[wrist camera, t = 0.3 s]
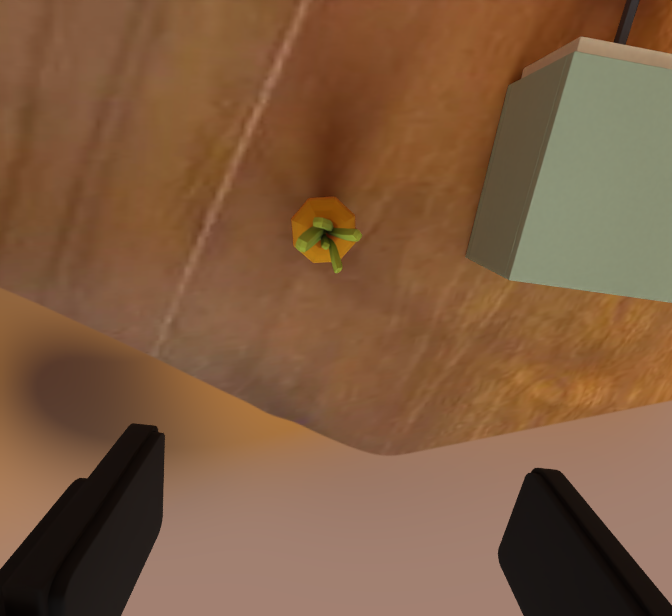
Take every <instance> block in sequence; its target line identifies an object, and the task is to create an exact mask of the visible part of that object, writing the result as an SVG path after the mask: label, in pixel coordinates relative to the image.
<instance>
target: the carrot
mask: <svg viewBox="0 0 672 616" xmlns="http://www.w3.org/2000/svg"><path fill="white" fill-rule="evenodd" d="M291 223H292V235H293V246H294V247H295V248H296V249H297V250H299V251H300V252H301V253H302V254H303V255H305V256H306V257H307V258H308V259H309V260H310V261H311V262H313V263H320V262H332V266H333V269H334V272H335V273H338V272H340V271H341V270H342V262H341V258H342V257H343V256H344V255H345V254H346V253H347V252H348V251H349V249H350V248H351V247H352V246H353V245H354V244H355V243H356V241H359V240H360V239H361V237H362V234H361V232H360V231H359V230H357V229H355V215H354V214H353V213H352V212H351V211H350V210H349V209H348V208H347V207H346V206H345V205H344V204H342V203H341V202H340V201H339V200H338V199H337V198H336V197H316V198H308V199H307V201H306V202H305V203H304V204H303V205H302V207H301V208H300V209H299V210H298V211H297V212H296V214H295V215H294V216H293V217H292V218H291Z"/></svg>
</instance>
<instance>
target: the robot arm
mask: <svg viewBox="0 0 672 616" xmlns="http://www.w3.org/2000/svg"><path fill="white" fill-rule="evenodd" d="M164 445H165V435H164V433H159V432H158V428H157V427H156V426H152V425H143V424H131V425H130V426H129V427H128V428H127V429H126V430H125V432H124V433H123V434H122V435H121V437H120V438H119V439H118V440H117V442H116V443H115V444H114V445H113V447H112V448H111V449H110V451H109V452H108V453H107V455H106V456H105V457H104V458H103V459H102V461H101V462H100V463H99V465H98V466H97V467H96V469H95V470H94V471H93V472H92V474H91V475H90V476H89V477H88V478H87V479H86V478H79V479H77V480H75V481H74V482H73V483H72V484H71V485H70V486H69V487H68V488H67V490H66V491H65V492H64V493H63V494H62V496H61V497H60V498H59V499H58V501H57V502H56V503H55V504H54V505H53V506H52V508H51V509H50V510H49V511H48V513H47V514H46V515H45V516H44V518H43V519H42V520H41V521H40V522H39V523H38V525H37V526H36V527H35V528H34V530H33V531H32V532H31V533H30V534H29V535H28V537H27V538H26V539H25V540H24V541H23V543H22V544H21V545H20V546H19V548H18V549H17V550H16V551H15V552H14V554H13V555H12V556H11V557H10V559H9V560H8V561H7V562H6V563H5V564H4V566H3V567H2V568H1V569H0V616H121V614H122V612H123V610H124V608H125V606H126V604H127V601H128V599H129V597H130V595H131V593H132V591H133V588H134V586H135V584H136V582H137V580H138V578H139V575H140V573H141V571H142V569H143V567H144V565H145V562H146V560H147V558H148V556H149V554H150V552H151V549H152V547H153V545H154V543H155V541H156V539H157V536H158V534H159V531H160V528H161V524H162V517H163V483H164V448H165V447H164ZM498 558H499V563H500V566H501V568H502V570H503V572H504V575H505V577H506V579H507V581H508V583H509V585H510V587H511V589H512V592H513V594H514V596H515V598H516V600H517V602H518V605H519V606H520V609H521V611H522V613H523V615H524V616H672V605H671V604H670V603H669V602H668V600H667V599H666V598H665V597H664V596H663V594H662V593H661V592H660V591H659V589H658V588H657V587H656V586H655V585H654V583H653V582H652V581H651V580H650V579H649V577H648V576H647V575H646V574H645V572H644V571H643V570H642V569H641V568H640V567H639V565H638V564H637V563H636V562H635V560H634V559H633V558H632V557H631V556H630V554H629V553H628V552H627V551H626V550H625V548H624V547H623V546H622V545H621V543H620V542H619V541H618V540H617V539H616V537H615V536H614V535H613V534H612V533H611V531H610V530H609V529H608V528H607V527H606V525H605V524H604V523H603V522H602V521H601V519H600V518H599V517H598V516H597V515H596V513H595V512H594V511H593V510H592V508H591V507H590V506H589V505H588V504H587V502H586V501H585V500H584V499H583V498H582V496H581V495H580V494H579V493H578V492H577V490H576V489H575V488H574V487H573V485H572V484H571V483H570V482H569V481H568V480H567V478H566V477H565V476H564V475H563V474H562V473H561V472H560V471H558V470H553V469H543V468H535V469H533V470H532V472H531V473H528V474H527V475H526V476H525V479H524V482H523V484H522V487H521V490H520V492H519V495H518V498H517V500H516V503H515V506H514V508H513V511H512V514H511V517H510V519H509V522H508V525H507V528H506V530H505V533H504V535H503V538H502V541H501V544H500V546H499V550H498Z"/></svg>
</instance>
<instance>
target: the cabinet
mask: <svg viewBox="0 0 672 616" xmlns="http://www.w3.org/2000/svg"><path fill="white" fill-rule="evenodd" d="M466 258H468V259H470V260H472V261H474V262H476V263H478V264H480V265H481V266H483V267H485V268H487V269H489V270H491V271H493V272H495V273H497V274H499V275H501V276H502V277H504V278H506V279H508V280H513V281H520V282H527V283H534V284H541V285H549V286H556V287H563V288H570V289H577V290H585V291H592V292H599V293H606V294H613V295H620V296H628V297H635V298H642V299H649V300H656V301H663V302H671V303H672V69H667V68H662V67H656V66H651V65H646V64H641V63H635V62H630V61H625V60H620V59H614V58H609V57H604V56H599V55H593V54H588V53H583V52H578V51H574V52H572V53H570V54H568V55H566V56H564V57H562V58H561V59H559V60H557V61H555V62H553V63H551V64H549V65H547V66H545V67H543V68H541V69H539V70H537V71H535V72H533V73H531V74H529V75H528V76H526V77H524V78H522V79H520V80H518V81H516V82H514V83H512V84H510V85H508V89H507V93H506V97H505V101H504V105H503V109H502V113H501V117H500V121H499V125H498V129H497V133H496V137H495V141H494V145H493V149H492V153H491V157H490V161H489V165H488V169H487V173H486V177H485V181H484V185H483V189H482V193H481V197H480V201H479V205H478V209H477V213H476V217H475V221H474V225H473V229H472V233H471V237H470V241H469V245H468V249H467V253H466Z"/></svg>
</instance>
